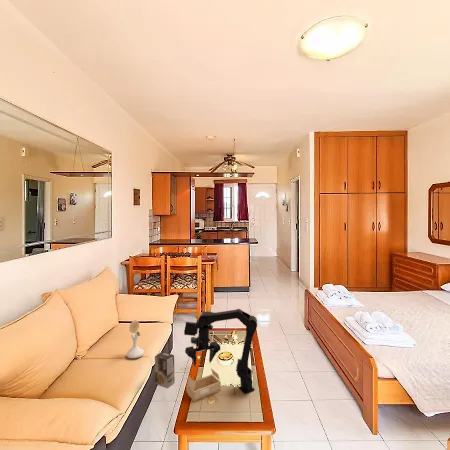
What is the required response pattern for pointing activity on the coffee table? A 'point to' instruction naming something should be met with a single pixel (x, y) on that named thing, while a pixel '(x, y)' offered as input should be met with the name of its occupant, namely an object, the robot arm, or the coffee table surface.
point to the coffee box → (164, 369)
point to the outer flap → (191, 382)
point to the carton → (204, 387)
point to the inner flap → (215, 374)
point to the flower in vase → (134, 341)
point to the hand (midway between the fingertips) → (202, 364)
